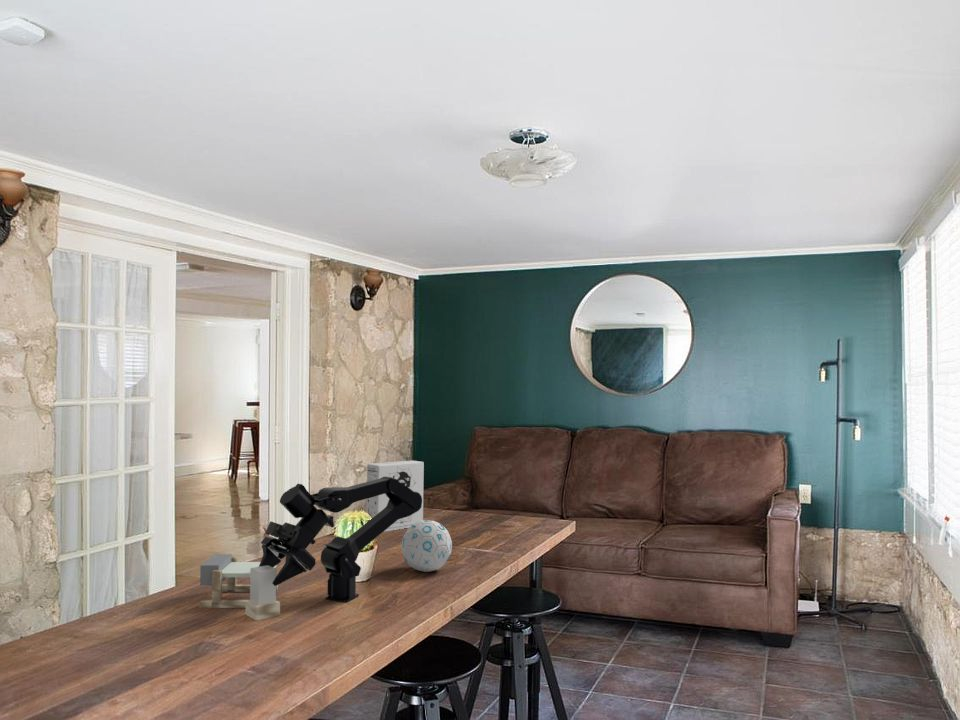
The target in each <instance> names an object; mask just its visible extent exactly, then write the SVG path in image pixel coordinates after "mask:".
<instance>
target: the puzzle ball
mask: <svg viewBox="0 0 960 720" xmlns="http://www.w3.org/2000/svg"><path fill="white" fill-rule="evenodd" d="M452 549H453V541H452V538H451V535H450V532H449V531H448V530H447V528H446V527H445V526H444V525H443V524H441V523H439V522H438V521H435V520H430V519H429V520H428V519H423V521H419V522H417V523H415V524H413V525H412V526H410V527H409V528H407V529H406V531H405V533H403V536H402V540H401V553H402V556H403V558H404V560H405V562H406V563H407V564H408V565H409V566H410V567H411V568H412V569H415V570H417V571H420V572H423V573H429V572H433V571H437V570H438V569H440V568H442V567H443V566H444V565H446V563H447V562H448V560H449V558H450V556H451V554H452Z"/></svg>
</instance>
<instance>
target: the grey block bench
mask: <svg viewBox="0 0 960 720" xmlns="http://www.w3.org/2000/svg"><path fill="white" fill-rule="evenodd" d="M232 562H238V556H232ZM278 591H279V585H277V586H276V593H277V592H278ZM225 592H226V593H227V592H228V593H239V592H240V593H245V592H246V593H247V592H248V593H250V584H248V583H247V584H245V583H244V584H243V583H242V584H238V577H227V584H223V582H222V570H213V571H212V585H211V599H201V600H199V601H198V602H199V603H198V604H199V605H198V606H199V607H198V608H199V609H218V608H219V609H221V608H222V609H233V608H234V609H239V608H240V609H244V608H245V607H246V601H250V599H223V598H222V596H223V595H222V594H223V593H225Z"/></svg>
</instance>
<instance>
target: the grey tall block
mask: <svg viewBox="0 0 960 720" xmlns="http://www.w3.org/2000/svg"><path fill="white" fill-rule="evenodd" d="M276 576H277V568H276V567H275V568H273V567H271V566H268V565H266V566H260V567H254V568H251V571H250V577H249V580H250V582H249V583H250V592H249V600H250V602H252V603H254V604H256V605H258V606H259V605H264V604H269V603H274V602H276V601H277V592H276V586H274V585H273V584H272V583H273V581H274V579H275V578H276Z"/></svg>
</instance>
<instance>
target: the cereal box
mask: <svg viewBox="0 0 960 720" xmlns="http://www.w3.org/2000/svg"><path fill="white" fill-rule="evenodd" d="M424 463H425V462H424V461H418V460H414V459H413V460H400V461H388V462H375V463H367V464H366V482H369V481H373V480H376V479H380V478H382V477H385V476H386V477H392V478H395V479H396V480H398V481H399V482H400V483H401V484H403V485H405V486H406V487H408V488H409V489H411V490H412V491H415V492H418V493H419V494H420V495H421V497H422V507H421V509H420V510H419V511H417V512H416V513H414V514H412V515H410V516H408V517H405V518H401V519H399V520H397V521H396V522H395V523H393V524H392V525H391V526H390V527H388V528H387V529H386V530H385V531H384V532H383V533H386V532H392V531H393V530H394V531H399V529H400V530H405V529H404V528H407V529H409V527H410V526H412V525H413V524H415V523H417V522H419V521H423V520H424V475H425V474H424V473H425V472H424V471H425V468H424V467H425V465H424ZM388 501H389V498H388V497H387V496H386V494H382V495H378V496H374V497H371V498H367V499H366V511H365V512H367V513H368V514H369V515H370V516H371V517H372V518H373V517H374V516H376V515H377V514H378V513H379V512H381V511H382V510H383V509H384V508H385V507H386V506H387V504H388Z"/></svg>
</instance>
